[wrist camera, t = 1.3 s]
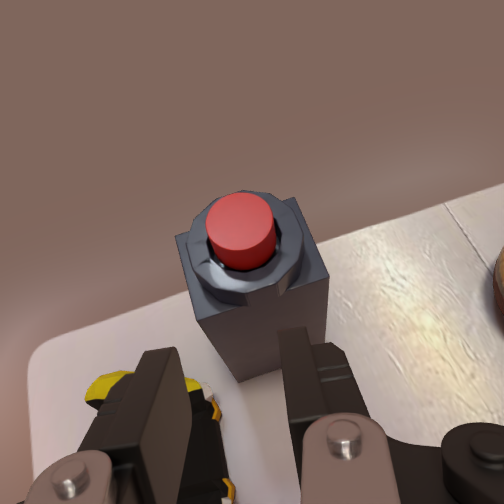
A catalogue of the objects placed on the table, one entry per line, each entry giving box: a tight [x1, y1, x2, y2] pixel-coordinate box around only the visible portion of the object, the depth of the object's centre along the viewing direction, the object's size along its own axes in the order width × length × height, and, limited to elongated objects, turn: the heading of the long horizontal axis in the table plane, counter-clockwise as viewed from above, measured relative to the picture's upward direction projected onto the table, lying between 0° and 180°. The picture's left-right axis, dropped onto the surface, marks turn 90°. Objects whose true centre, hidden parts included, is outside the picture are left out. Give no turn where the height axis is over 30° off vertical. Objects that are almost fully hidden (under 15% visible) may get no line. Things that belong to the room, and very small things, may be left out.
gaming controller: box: [85, 371, 235, 504], centre depth 34 cm, size 15×6×10 cm
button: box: [205, 193, 276, 270], centre depth 24 cm, size 4×4×2 cm
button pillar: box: [175, 190, 330, 382], centre depth 33 cm, size 8×6×18 cm
